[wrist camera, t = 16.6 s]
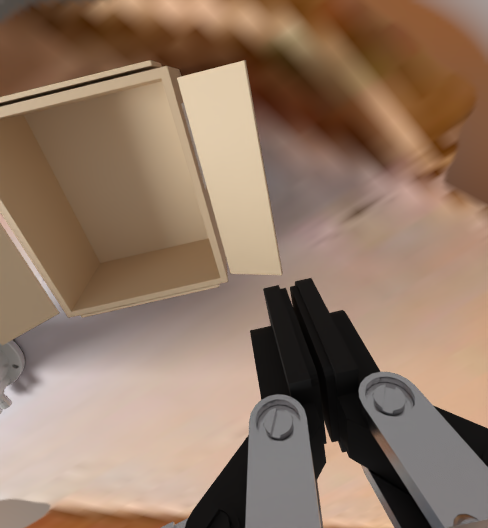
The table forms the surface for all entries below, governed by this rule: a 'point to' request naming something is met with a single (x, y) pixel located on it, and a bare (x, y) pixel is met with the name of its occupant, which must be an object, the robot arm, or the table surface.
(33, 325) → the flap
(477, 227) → the table surface
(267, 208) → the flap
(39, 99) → the carton
